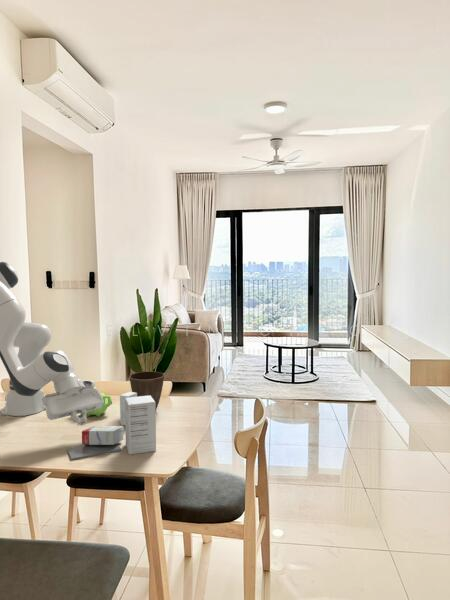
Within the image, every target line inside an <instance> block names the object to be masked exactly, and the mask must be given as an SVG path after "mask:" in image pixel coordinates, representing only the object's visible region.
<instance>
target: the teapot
mask: <svg viewBox="0 0 450 600" xmlns="http://www.w3.org/2000/svg"><path fill="white" fill-rule="evenodd" d="M100 393H101V395H102V397H103V400H104V403H103V405H102V407H101V408H100V409H95V410H91V411H87V413H86V418H88V417H90V416H93V415H94V416H95V417H96V418H101V415H102V414H104V413H105V412H106V411H107V409H108V407H110V406H112V405H113V399H112V396H111V395H110V394H109V395H106V394H105V392H100Z"/></svg>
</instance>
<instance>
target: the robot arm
mask: <svg viewBox="0 0 450 600" xmlns="http://www.w3.org/2000/svg"><path fill="white" fill-rule="evenodd" d="M18 282H19V277H18V273H17V271H16V269H15V268H14V267H13V266H12V265H11V264H9V263H7V262H5V261H0V359H1V362H2V364H3V366H4V368H5V370H6V372H7V374H8V376H9V379H10V380H9V384H8V385H9V387H8V388H9V391H8V392H7V393H6V394H5V398H4V401H5V404H4V407H3V409H2V410H1V412H0V415H5V416H6V415H7V416H12V417H13V416H14V417H21V416H23V417H24V416H29V415H34V414H37V413H41V412H42V411H44V410H45V413H46V416H47V419H48V420H49V421H54V420H57V419H61V418H65V417H71V419H73V420H74V421H75V422H76V424H77V426H79V425H83V424H87V422H88V419H87V417H86V413H87V411H91V410H95V409H100V408H101V407H102V405H103V403H104V400H103V397H102V395H101V393H102V392H101V391H100V390H99V389H98V388H97V387H95V385H96V383H95V381H93V380H84V379H80V378H79V376H78V375H76V372H75V370H76V369H75V367H74V365H73V363H72V361H71V359H70V358H69V356H68V354H67V353H66V352H64V351H62V350H52V351H45V352H43V350H44V349H45V348H46V347H47V346H48V345H49V344H50V342H51V340H52V331H51V329H50V327H49V326H48V325H46V324H42V323H38V322H25V321H26V315H27V314H26V310H25V309H24V307H23V305H22V303H21V302H20V301H19V300H18V298H17V296H16V295H15V294H14V293H13V292H12V291H11V290H10V289H13V288H15V286H16V285H17V284H18ZM15 348H18V353H17V351H16V350H15ZM42 352H43V353H42ZM50 382H52V383H53V388H54V391H55V392H54V393H51V394H45V393H44V390H43V388H44V387H45V386H46V385H48V384H49V383H50ZM44 394H45V395H44ZM77 414H80V416H82V417H79V415H77Z"/></svg>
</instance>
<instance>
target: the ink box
mask: <svg viewBox="0 0 450 600" xmlns="http://www.w3.org/2000/svg"><path fill="white" fill-rule="evenodd" d="M124 427H125V426H124V425H117V426H116V425H115V426H114V425H110V426H109V425H108V426H107V425H105V426H101V425H97V426H95V425H93V426H91V427H87V428H86V429H84V430H82V431H81V445H114V444H116V443H117V444H118V443H119V442H122V441H123V440H124V431H125V429H124Z"/></svg>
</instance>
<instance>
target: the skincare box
mask: <svg viewBox="0 0 450 600" xmlns="http://www.w3.org/2000/svg"><path fill="white" fill-rule="evenodd" d="M129 397H137V393H135V392H132V391H127V392H125V393H122V394H120V395H119V414H120V415H119V416H120V420H119V421H120V426H125V422H126V417H125V398H129Z"/></svg>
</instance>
